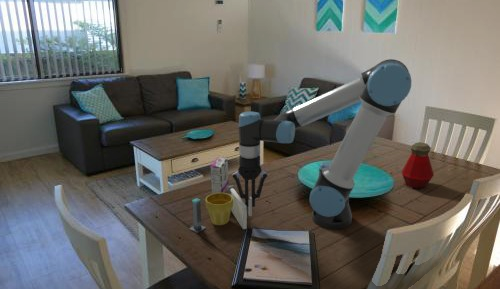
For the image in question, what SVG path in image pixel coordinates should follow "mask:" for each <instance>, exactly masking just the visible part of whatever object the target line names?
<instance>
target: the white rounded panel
mask: <svg viewBox="0 0 500 289" xmlns="http://www.w3.org/2000/svg"><path fill="white" fill-rule="evenodd" d="M235 187H236V186H235V185H233V184H231V185H230V184H229V186H228V191H229V192H232V193H231V196H232V197H233V207H232V209H231V211H232V213H233V214H232V215H233V216H234V217H235V219H236V220H237V222H238V223H239V225H240V227H241V229H242V230H246V229H248V228H247V226H248V224H247V223H248V222H247V218H248V216H247V212H248V210H247V208H248V207H247V206H246V205H245V201H244V200H243V198H241V197H240V194H238V193H237V192H238V191H236V190H235ZM229 192H228V193H229Z"/></svg>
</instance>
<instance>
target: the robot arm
mask: <svg viewBox="0 0 500 289" xmlns="http://www.w3.org/2000/svg"><path fill="white" fill-rule="evenodd" d="M411 88H412V77H411V73H410V71H409V69H408V67H407V65H405V64H404V63H403V62H402V61H400V60H397V59H395V58H394V59H391V58H390V59H385V60H383V61H381V62H378V63H377V64H376V65H374V66H373V67H371V68H369V69H367V70H365V71H364V72H361V73H360V74H359V77H357V78H355V79H353V80H351V81H349V82H347V83H345V84H342V85H340V86H338V87H335V88H334V89H331V90H329V91H327V92H325V93H322V94H320V95H319V96H316V97H314V98H312V99H310V100H307V101H305V102H304V103H301V104H299V105H297V106H295V107H293V108H290V109H287V110H284V111H282V112H281V113H280V114H279V115H277V116H276V117H275V118H274V119H264V118H261V114H260V112H258V111H257V112H256V111H244V112H241V113H240V114H239V116H238V151H239V152H238V154H239V155H238V156H239V157H238V159H239V161H238V162H239V164H238V165H239V167H238V169H237V170H236V171H234V172H232V178H233V179H234V181H235V183H236V186H237V189H238V190H237V192H238V193H239V194H238V195H239V196H240V198H241V199H244V203H245V205H246V206H247V208H248V210H247V212H248V217H252V216H253V208H254V207H256V199H258V198H259V199H260V197H261V194H262V189H263V186H264V184H265V180H266V179H267V178H268V173H267V171H264V170H262V167H261V141H262V142H267V143H268V142H271V143H279V144H291V143H293V142H294V140H295V136H296V135H295V134H296V130H297V129H299V128H301V127H304V126H306V125H308V124H311V123H313V122H316V121H318V120H320V119H323V118H325V117H327V116H329V115H332V114H334V113H337V112H339V111H341V110H345V109H346V108H348V107H350V106H353V105H355V104H358V103H359V102H360V103H361V104H360V107H359V108H358V109H357V112H356V114H355V116H354V118H353V120H352V122H351V124H350V126H349V128H348V130H347V132H346V133H345V135H344V138H343V139H342V141H341V143H340V145H339V148H337V151H336V153H335V155H334V157H333V159H332V161H330V160H328V161H323V162H321V163H320V164H319V167H318V177H317V180H316V181H315V184H314V186H313V188H312V189H311V191H310V193H309V204H310V206H311V208H312V212H311V213H312V214H311V220H312V221H313V223H315V224H316V225H318V226H320V227H322V228H326V229H331V230H341V229H345V228H348V227H349V226H351V224H352V222H353V221H352V219H353V214H352V211H351V206H350V204H349V202H350V195H351V193H352V191H353V189H354V187H355V184H356V183H355V181H354V178H355V176H356V174H357V172H358V170H359V169H360V167H361V165H362V163H363V162H364V160H365V159H366V156H367V154H368V152H369V151H370V149H371V147H372V145H373V143H374V141H375V139H376V137H378V135H379V132H380V130H381V129H382V127H383V125H384V124H385V122H386V120H387V118H388V117H389V116H391V115H395V114H396V112H397V111H398V109H399V108H400V106H401V103H402V102H403V101H404V100H405V99H406V98H407V97H408V95H409V93H410V91H411ZM259 175H260V178H259V181H258V185H257V190H256V180H257V178H258V177H259ZM240 176H241V177H242V178H243V179H244V191H243V187H242V184H241V180H240ZM249 180H250V181H251V192H250V193H251V195H250V196H249Z"/></svg>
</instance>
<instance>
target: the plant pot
mask: <svg viewBox="0 0 500 289" xmlns="http://www.w3.org/2000/svg"><path fill="white" fill-rule="evenodd" d="M205 207H206V210H207V211H208V213H209V217H210V221H211V223H212V224H213V225H215V226H223V225H227V224H228V223H229V221H230V217H231V213H230V212H231V209H232V207H233V197H232V196H231V195H230V194H229V193H228V194H227V193H213V194H212V193H211V194H209V195H207V196H206V197H205Z"/></svg>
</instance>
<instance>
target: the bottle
mask: <svg viewBox="0 0 500 289" xmlns="http://www.w3.org/2000/svg"><path fill="white" fill-rule="evenodd" d="M410 150H411V154H410V155H409V156H408V159H407V160H406V162H405V164H404V166H403V168H402V171H401V174H402V178H403V180H404V182H405V185H406V187H408V186H409V187H408V188H410V187H412V188H411V189H414V188H422V189H424V188H423V187H425V188H426V187H427V185H428V184H429V182H430V181H431V179H433V177H434V175H435V174H434V170H433V167H432V163H431V160H430V156H429V153H430V152H431V150H432V148H431V146H430V145H429V144H428V143H426V142H421V141H420V142H418V141H417V142H414V144H412V145H411V146H410Z"/></svg>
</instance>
